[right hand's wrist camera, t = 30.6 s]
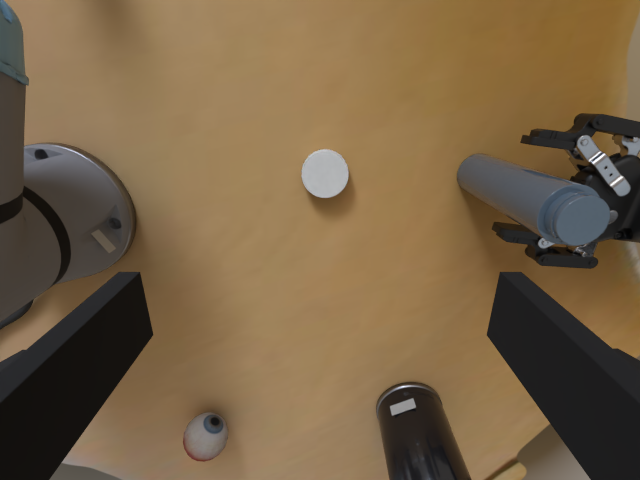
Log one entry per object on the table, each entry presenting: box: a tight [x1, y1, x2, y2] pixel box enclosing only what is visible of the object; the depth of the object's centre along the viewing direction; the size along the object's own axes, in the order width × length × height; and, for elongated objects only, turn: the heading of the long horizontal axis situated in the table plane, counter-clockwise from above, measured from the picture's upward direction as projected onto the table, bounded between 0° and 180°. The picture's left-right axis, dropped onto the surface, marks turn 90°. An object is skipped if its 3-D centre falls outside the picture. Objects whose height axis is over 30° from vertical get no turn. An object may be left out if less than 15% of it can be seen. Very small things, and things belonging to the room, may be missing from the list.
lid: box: [301, 149, 349, 198], centre depth 38 cm, size 5×5×2 cm
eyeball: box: [183, 412, 228, 461], centre depth 49 cm, size 6×6×6 cm
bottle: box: [457, 154, 610, 246], centre depth 31 cm, size 4×4×17 cm
